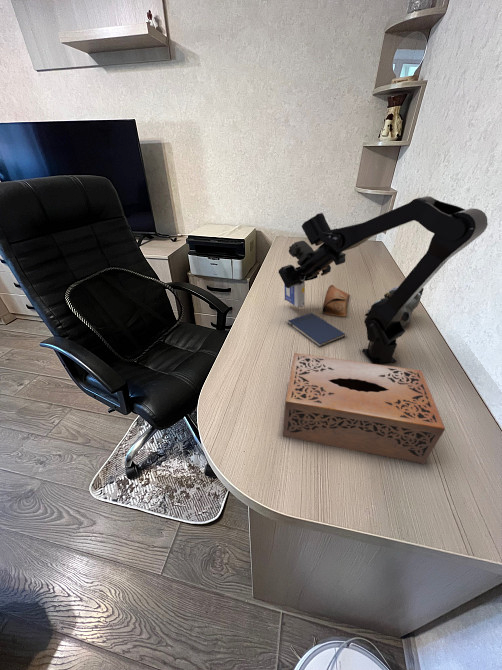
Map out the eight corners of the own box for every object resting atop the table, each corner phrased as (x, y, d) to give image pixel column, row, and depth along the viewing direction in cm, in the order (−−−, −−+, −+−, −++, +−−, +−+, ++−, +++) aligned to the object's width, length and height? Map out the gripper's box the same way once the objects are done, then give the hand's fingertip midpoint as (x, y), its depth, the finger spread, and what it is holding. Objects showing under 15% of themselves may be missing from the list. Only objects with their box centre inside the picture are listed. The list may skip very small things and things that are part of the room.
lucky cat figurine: (361, 308, 98) (383, 272, 94) (391, 322, 99) (414, 287, 95) (378, 319, 84) (405, 276, 80) (412, 335, 85) (440, 294, 81)
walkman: (284, 299, 98) (283, 266, 91) (291, 297, 99) (290, 264, 92) (297, 307, 92) (298, 273, 85) (304, 305, 93) (305, 271, 86)
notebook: (344, 337, 84) (345, 333, 83) (319, 347, 80) (319, 343, 79) (311, 315, 95) (312, 312, 94) (287, 323, 90) (288, 320, 90)
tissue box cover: (406, 404, 62) (421, 370, 56) (423, 463, 50) (445, 428, 45) (291, 385, 67) (294, 352, 61) (282, 435, 55) (285, 401, 50)
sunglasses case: (347, 316, 93) (340, 299, 90) (327, 322, 96) (320, 306, 94) (349, 294, 107) (343, 278, 105) (332, 300, 110) (325, 285, 108)
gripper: (328, 229, 85) (299, 256, 98) (284, 239, 75) (258, 268, 88) (345, 260, 84) (313, 283, 97) (303, 275, 74) (274, 298, 88)
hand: (290, 282), depth 93 cm, fingers closed on walkman, 3 cm apart
